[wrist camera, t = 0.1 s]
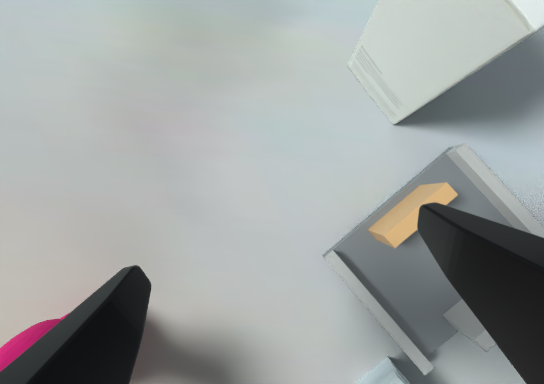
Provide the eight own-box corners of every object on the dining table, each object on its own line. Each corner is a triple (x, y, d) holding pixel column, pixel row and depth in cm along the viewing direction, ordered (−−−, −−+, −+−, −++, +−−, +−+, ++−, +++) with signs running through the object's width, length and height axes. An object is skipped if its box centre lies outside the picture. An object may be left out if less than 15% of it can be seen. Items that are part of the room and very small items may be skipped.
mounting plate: (542, 249, 21) (607, 262, 17) (411, 359, 22) (443, 399, 17) (448, 148, 22) (488, 135, 18) (322, 255, 22) (331, 268, 18)
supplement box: (392, 128, 22) (533, 36, 10) (344, 64, 23) (421, -104, 10) (459, 81, 22) (692, -75, 10) (410, 17, 23) (571, -214, 10)
